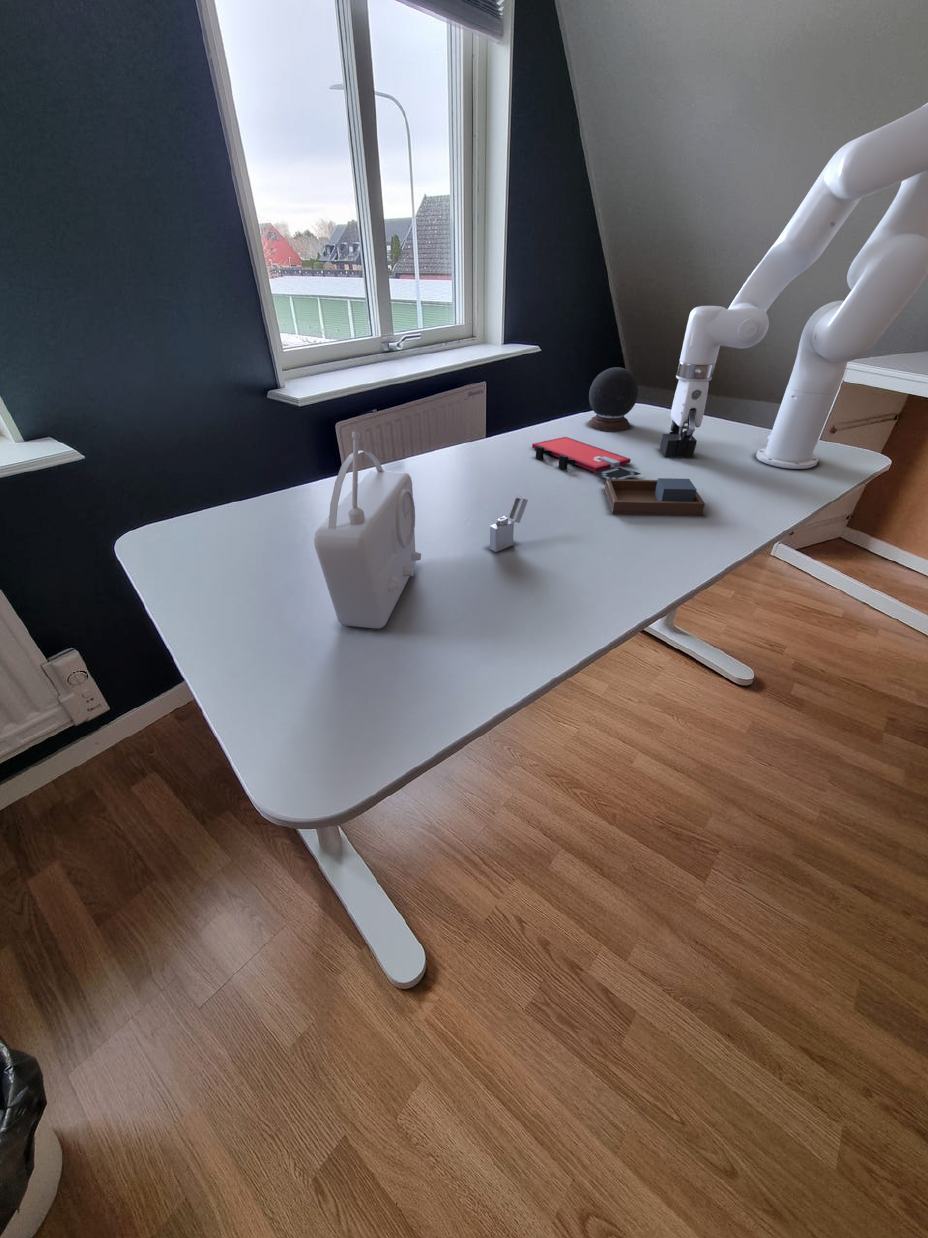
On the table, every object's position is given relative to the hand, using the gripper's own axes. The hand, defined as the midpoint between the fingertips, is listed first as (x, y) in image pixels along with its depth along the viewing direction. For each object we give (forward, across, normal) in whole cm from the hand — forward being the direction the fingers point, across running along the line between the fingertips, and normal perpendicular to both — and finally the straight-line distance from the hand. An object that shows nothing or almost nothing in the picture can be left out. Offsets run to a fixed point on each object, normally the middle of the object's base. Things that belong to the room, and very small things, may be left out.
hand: (676, 451), depth 121 cm
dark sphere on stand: (+1, +24, +13) cm, 27 cm away
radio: (+1, -66, +58) cm, 88 cm away
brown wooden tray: (0, -30, +12) cm, 32 cm away
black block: (0, 0, 0) cm, 0 cm away
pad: (0, -30, +8) cm, 31 cm away
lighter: (+1, -49, +40) cm, 63 cm away
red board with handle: (+1, -7, +23) cm, 24 cm away
